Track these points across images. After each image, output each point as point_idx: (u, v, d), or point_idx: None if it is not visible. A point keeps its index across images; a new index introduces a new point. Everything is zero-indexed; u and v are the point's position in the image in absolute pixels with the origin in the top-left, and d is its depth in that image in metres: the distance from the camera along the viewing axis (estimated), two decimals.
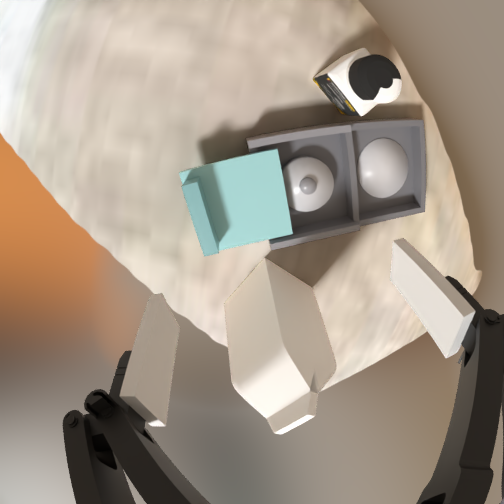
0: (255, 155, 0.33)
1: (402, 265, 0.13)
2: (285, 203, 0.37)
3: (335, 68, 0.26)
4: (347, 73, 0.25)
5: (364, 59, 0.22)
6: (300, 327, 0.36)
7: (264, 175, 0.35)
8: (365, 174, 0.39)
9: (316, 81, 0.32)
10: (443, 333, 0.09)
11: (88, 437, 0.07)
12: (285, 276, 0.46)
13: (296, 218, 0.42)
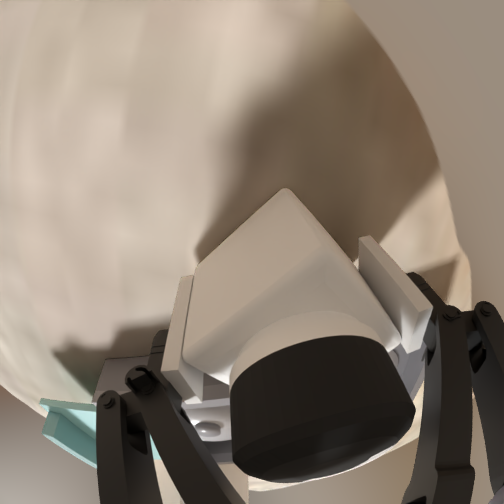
0: None
1: (367, 261, 0.14)
2: None
3: (201, 346, 0.10)
4: (229, 387, 0.09)
5: (262, 445, 0.05)
6: None
7: None
8: None
9: None
10: (403, 328, 0.10)
11: (122, 419, 0.08)
12: None
13: None
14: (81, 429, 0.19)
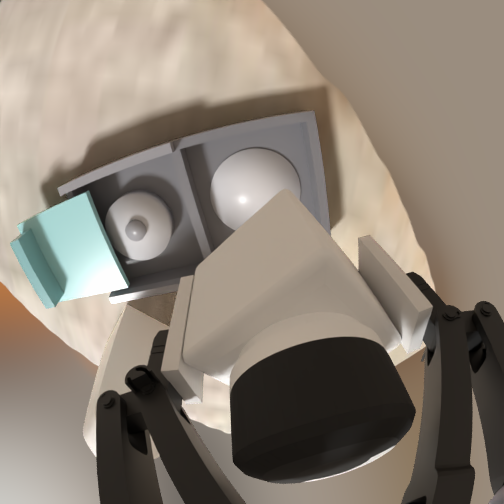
0: (67, 202, 0.24)
1: (367, 261, 0.14)
2: (109, 254, 0.28)
3: (202, 347, 0.10)
4: (230, 388, 0.09)
5: (262, 446, 0.05)
6: None
7: (80, 224, 0.26)
8: (224, 204, 0.30)
9: None
10: (403, 328, 0.10)
11: (123, 419, 0.08)
12: (148, 327, 0.37)
13: (143, 265, 0.33)
14: (42, 251, 0.27)
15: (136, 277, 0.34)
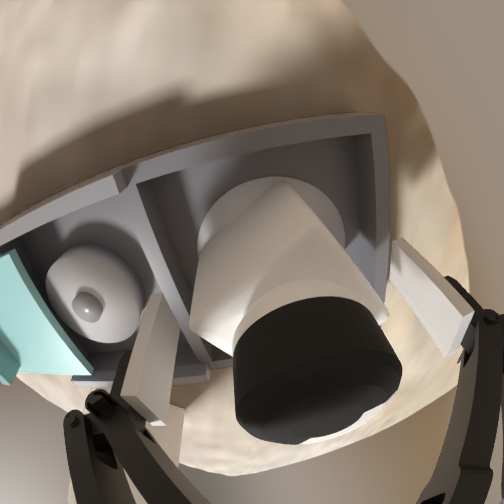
0: None
1: (401, 265, 0.13)
2: (57, 337, 0.16)
3: (207, 314, 0.11)
4: (232, 350, 0.10)
5: (263, 388, 0.07)
6: None
7: (13, 295, 0.14)
8: None
9: None
10: (442, 333, 0.09)
11: (89, 437, 0.07)
12: None
13: None
14: None
15: (104, 352, 0.22)
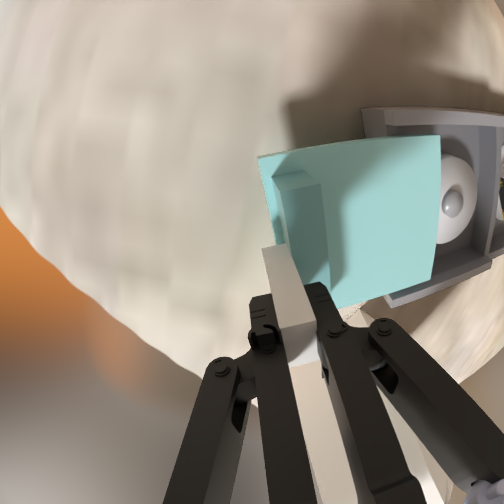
0: (409, 140, 0.14)
1: None
2: (434, 231, 0.18)
3: None
4: None
5: None
6: None
7: (418, 180, 0.16)
8: None
9: (500, 182, 0.18)
10: None
11: None
12: None
13: None
14: None
15: None
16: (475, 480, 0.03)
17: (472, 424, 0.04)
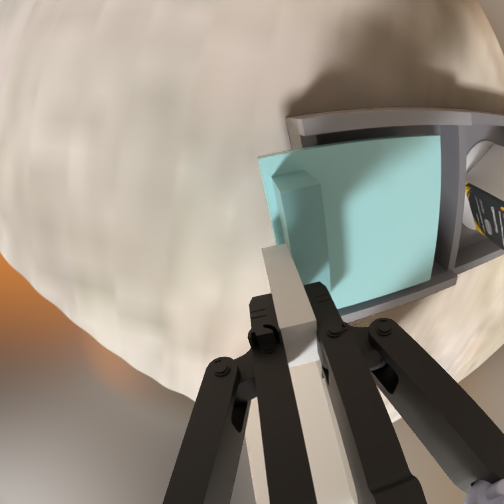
0: (409, 140, 0.14)
1: None
2: (434, 232, 0.18)
3: None
4: None
5: None
6: None
7: (418, 180, 0.16)
8: (465, 194, 0.20)
9: (469, 188, 0.18)
10: None
11: None
12: None
13: None
14: None
15: None
16: (475, 480, 0.03)
17: (472, 424, 0.04)
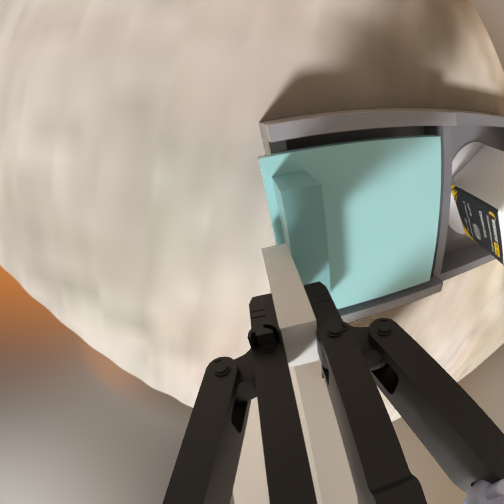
0: (410, 141, 0.14)
1: None
2: (434, 232, 0.18)
3: None
4: None
5: None
6: (344, 454, 0.17)
7: (418, 181, 0.16)
8: (452, 198, 0.20)
9: (456, 192, 0.18)
10: None
11: None
12: None
13: None
14: None
15: None
16: (475, 480, 0.03)
17: (472, 424, 0.04)
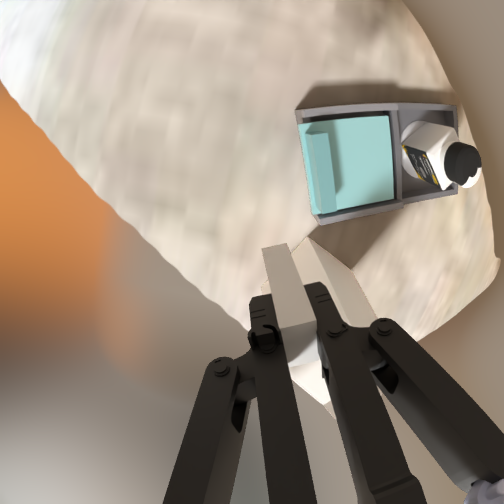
0: (370, 118, 0.30)
1: None
2: (391, 167, 0.34)
3: (432, 148, 0.29)
4: (443, 156, 0.28)
5: (462, 150, 0.25)
6: (354, 305, 0.33)
7: (376, 138, 0.32)
8: (405, 153, 0.36)
9: (405, 148, 0.34)
10: None
11: None
12: (328, 256, 0.43)
13: None
14: None
15: None
16: (475, 480, 0.03)
17: (472, 424, 0.04)
